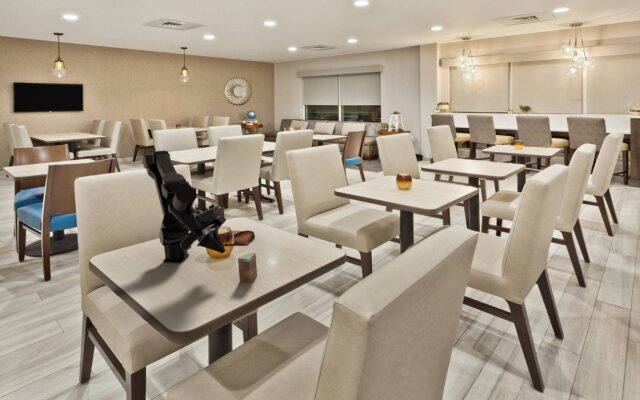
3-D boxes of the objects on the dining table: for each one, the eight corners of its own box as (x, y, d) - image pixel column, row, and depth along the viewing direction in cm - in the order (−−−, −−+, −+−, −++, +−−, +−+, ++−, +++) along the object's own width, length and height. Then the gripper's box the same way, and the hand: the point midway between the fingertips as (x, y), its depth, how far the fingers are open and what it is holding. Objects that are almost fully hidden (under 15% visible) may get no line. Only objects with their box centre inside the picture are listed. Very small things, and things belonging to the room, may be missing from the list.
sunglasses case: (202, 244, 156) (204, 227, 157) (209, 247, 162) (211, 231, 164) (249, 245, 153) (250, 227, 155) (254, 248, 160) (255, 231, 162)
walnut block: (239, 281, 124) (237, 258, 122) (246, 274, 128) (244, 252, 126) (250, 282, 123) (248, 259, 121) (257, 275, 127) (255, 252, 126)
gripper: (185, 205, 114) (225, 246, 114) (218, 190, 131) (252, 225, 131) (163, 231, 117) (202, 270, 117) (198, 213, 135) (231, 247, 135)
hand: (224, 252), depth 125 cm, fingers closed
